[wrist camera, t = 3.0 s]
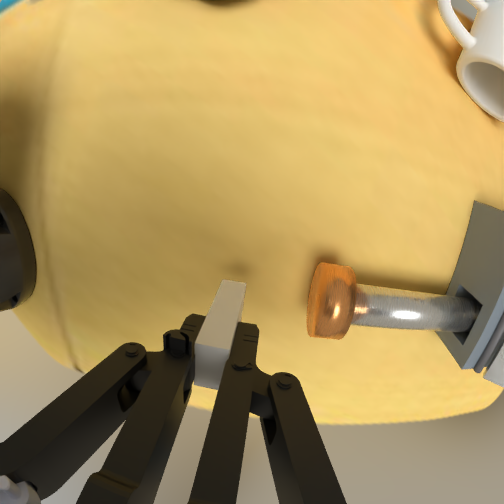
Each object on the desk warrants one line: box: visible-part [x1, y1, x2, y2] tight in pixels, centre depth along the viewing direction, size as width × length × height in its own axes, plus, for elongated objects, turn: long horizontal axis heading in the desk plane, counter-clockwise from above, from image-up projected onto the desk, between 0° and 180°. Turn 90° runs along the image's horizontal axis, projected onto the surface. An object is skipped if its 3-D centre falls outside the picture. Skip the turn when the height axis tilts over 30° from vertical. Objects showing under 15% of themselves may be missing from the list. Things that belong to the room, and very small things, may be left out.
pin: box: [307, 262, 483, 340], centre depth 19 cm, size 16×5×5 cm, turn 82°
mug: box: [437, 0, 504, 122], centre depth 10 cm, size 12×10×8 cm
